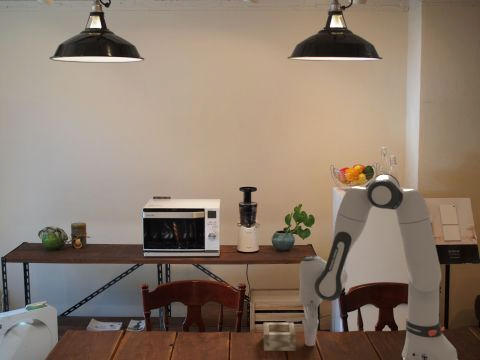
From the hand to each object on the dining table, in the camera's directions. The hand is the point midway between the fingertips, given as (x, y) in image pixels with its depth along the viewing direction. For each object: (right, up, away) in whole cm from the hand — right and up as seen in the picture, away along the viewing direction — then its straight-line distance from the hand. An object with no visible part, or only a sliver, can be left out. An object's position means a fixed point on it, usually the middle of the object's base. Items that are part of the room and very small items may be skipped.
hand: (310, 330), depth 245 cm
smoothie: (0, -6, +1) cm, 6 cm away
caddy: (-12, -5, +1) cm, 13 cm away
